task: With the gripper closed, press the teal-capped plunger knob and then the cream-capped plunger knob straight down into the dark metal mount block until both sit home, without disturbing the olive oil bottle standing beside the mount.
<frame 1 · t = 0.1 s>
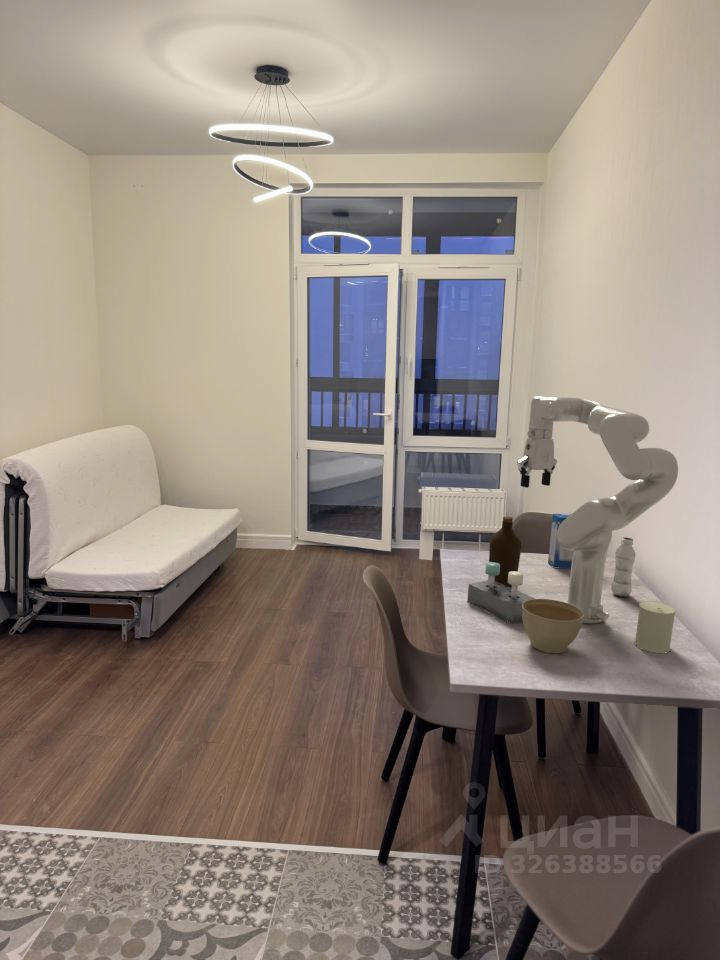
hand: (535, 486, 213), 37 cm above the table, tool pointing down, fingers open, 9 cm apart
plastic bottle: (620, 595, 220), on the table
cream knob: (514, 587, 196), point 9 cm above the table, slide at 4.0 cm
milk carton: (562, 566, 251), on the table
can: (652, 647, 180), on the table
teal knob: (491, 577, 204), point 9 cm above the table, slide at 4.0 cm
planter bowl: (548, 647, 176), on the table
mount block: (500, 609, 202), on the table
olive oil: (501, 588, 222), on the table
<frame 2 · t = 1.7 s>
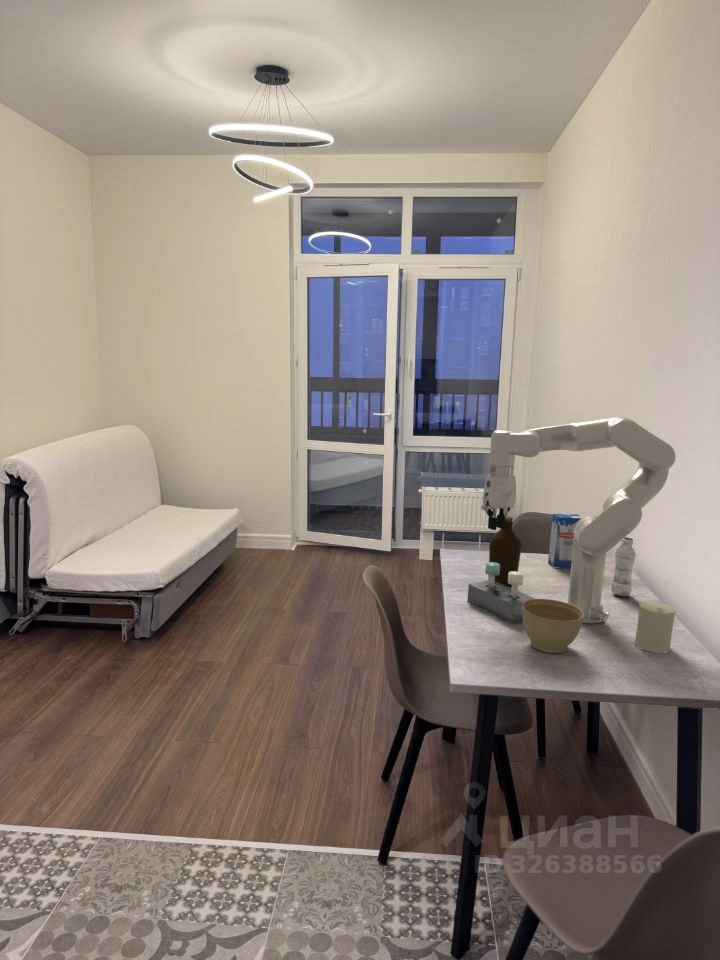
hand: (496, 528, 201), 25 cm above the table, tool pointing down, fingers closed
nothing on the table moved.
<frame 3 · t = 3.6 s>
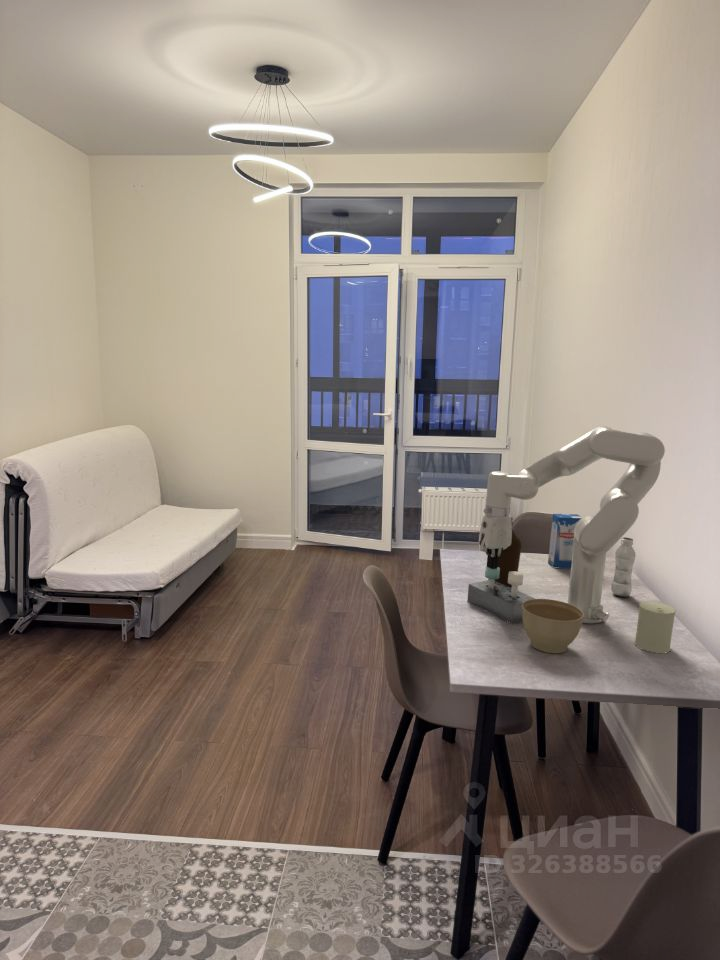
hand: (491, 567, 204), 12 cm above the table, tool pointing down, fingers closed
teal knob: (491, 581, 204), point 8 cm above the table, slide at 2.8 cm, touching gripper
everything else where it was.
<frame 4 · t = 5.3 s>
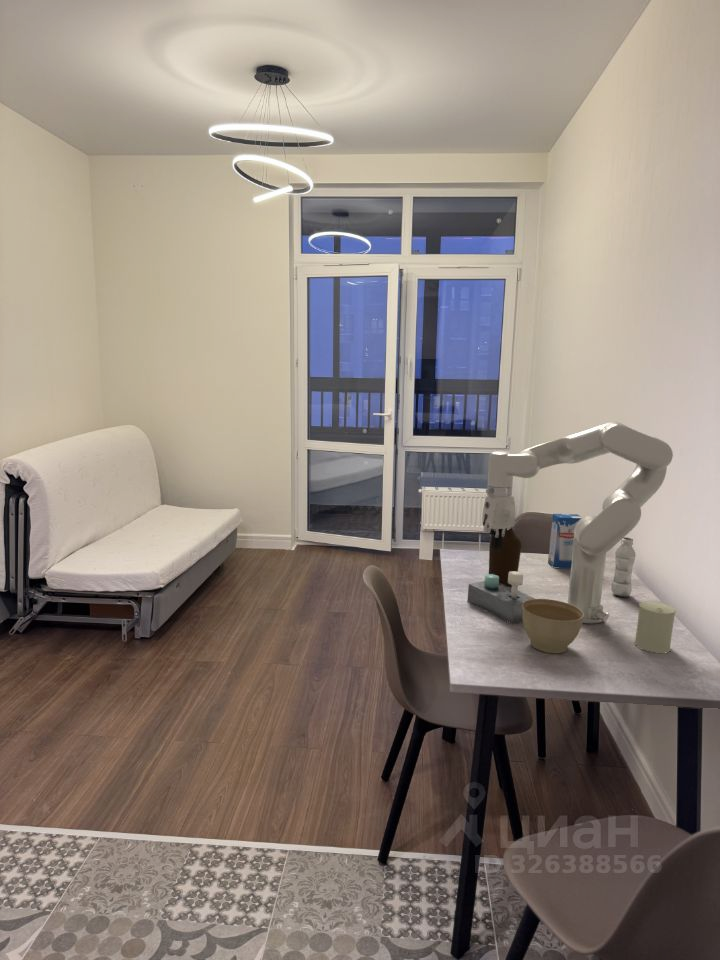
hand: (496, 548, 202), 19 cm above the table, tool pointing down, fingers closed
teal knob: (490, 589, 205), point 5 cm above the table, slide at 0.0 cm
everything else where it was.
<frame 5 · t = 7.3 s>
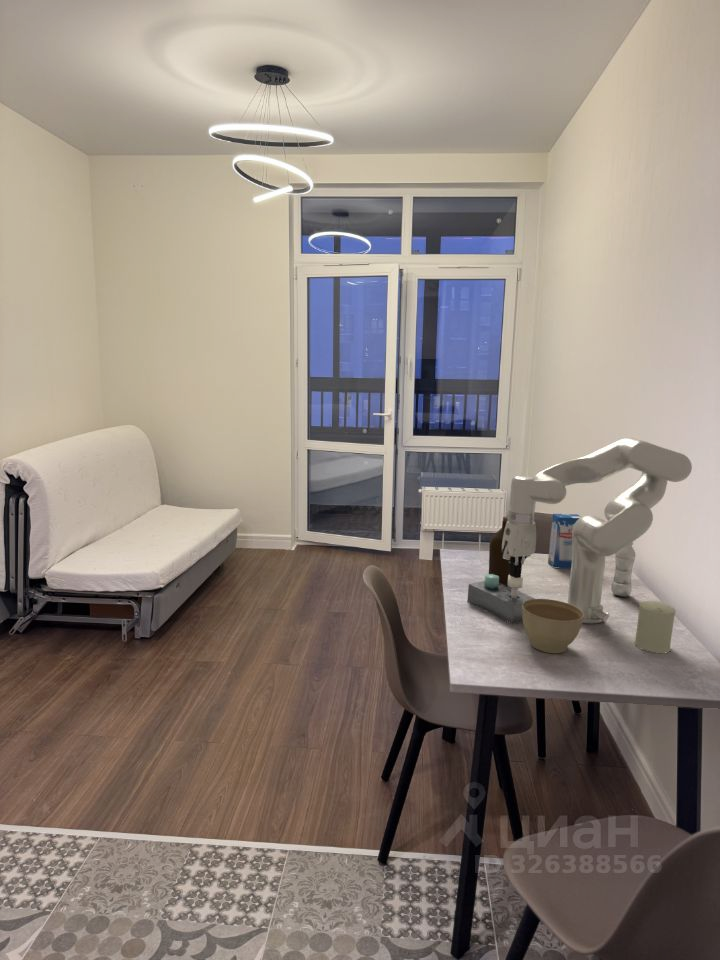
hand: (514, 576, 195), 13 cm above the table, tool pointing down, fingers closed
cream knob: (514, 590, 196), point 8 cm above the table, slide at 3.1 cm, touching gripper
everything else where it was.
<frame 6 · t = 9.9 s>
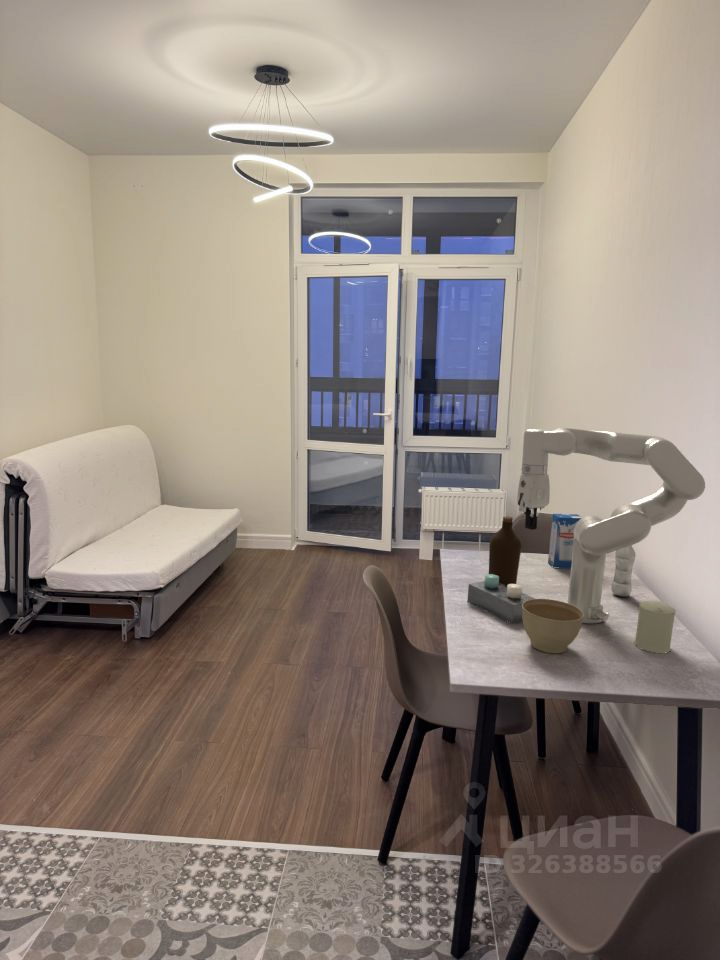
hand: (530, 528, 198), 26 cm above the table, tool pointing down, fingers closed
cream knob: (513, 600, 197), point 5 cm above the table, slide at 0.0 cm
everything else where it was.
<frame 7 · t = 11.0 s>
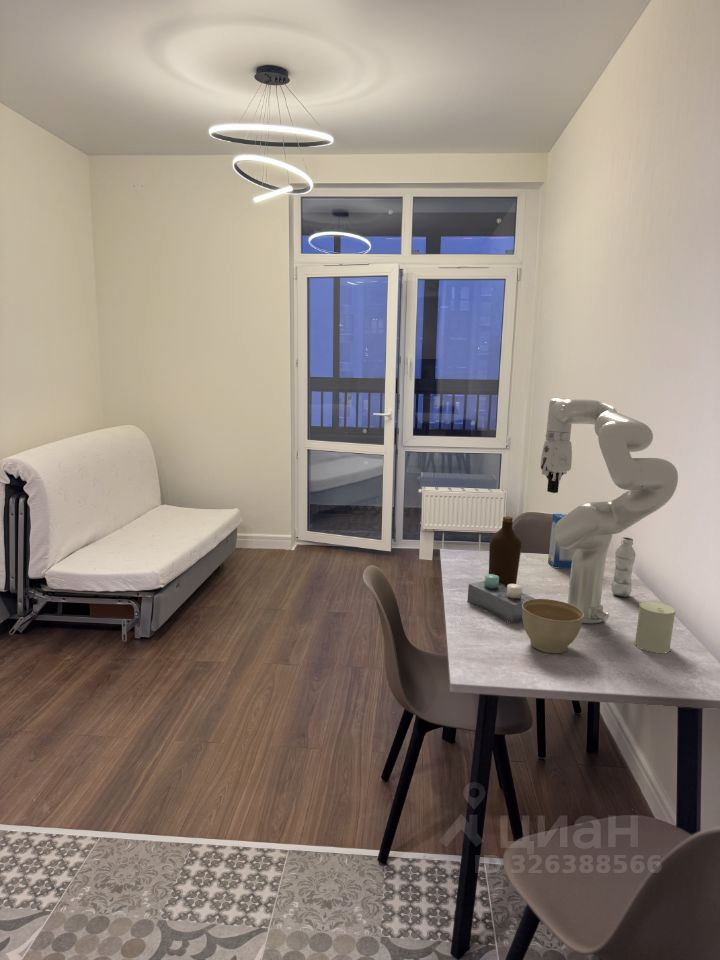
hand: (552, 492, 212), 35 cm above the table, tool pointing down, fingers closed
nothing on the table moved.
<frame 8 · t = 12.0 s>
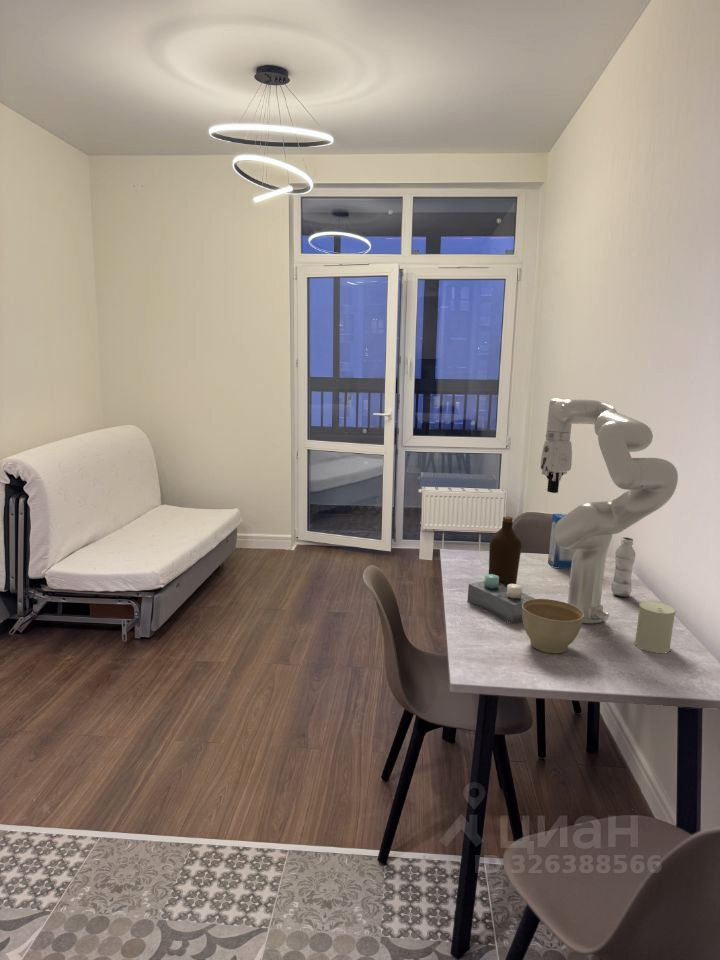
hand: (552, 492, 212), 35 cm above the table, tool pointing down, fingers closed
nothing on the table moved.
at the end: teal knob slide at 0.0 cm; cream knob slide at 0.0 cm; olive oil tilted 0° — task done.
